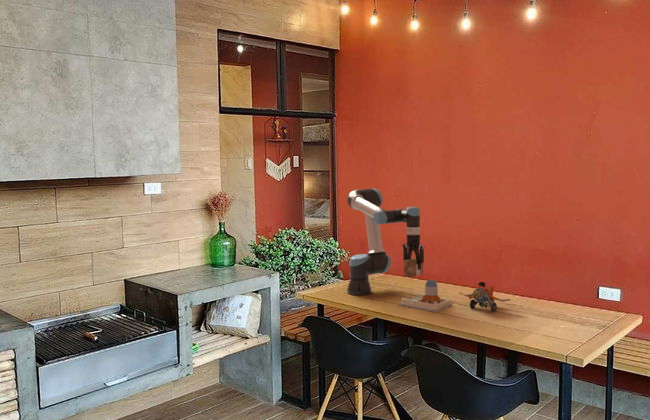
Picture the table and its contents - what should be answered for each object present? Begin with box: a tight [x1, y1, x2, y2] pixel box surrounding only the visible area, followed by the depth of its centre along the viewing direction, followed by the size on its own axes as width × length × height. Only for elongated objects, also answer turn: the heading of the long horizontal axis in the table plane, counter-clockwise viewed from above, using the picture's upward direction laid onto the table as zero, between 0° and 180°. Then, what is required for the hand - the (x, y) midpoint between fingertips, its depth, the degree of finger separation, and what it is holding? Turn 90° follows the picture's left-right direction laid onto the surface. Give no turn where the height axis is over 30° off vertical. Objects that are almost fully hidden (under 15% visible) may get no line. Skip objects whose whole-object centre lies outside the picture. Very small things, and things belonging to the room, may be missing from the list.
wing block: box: [403, 257, 424, 278], centre depth 333 cm, size 5×12×9 cm, turn 137°
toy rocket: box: [422, 279, 441, 304], centre depth 326 cm, size 10×11×15 cm
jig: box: [398, 292, 453, 313], centre depth 330 cm, size 24×18×4 cm
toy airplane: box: [458, 281, 512, 313], centre depth 318 cm, size 29×23×15 cm
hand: (413, 274), depth 334 cm, fingers closed on wing block, 5 cm apart
